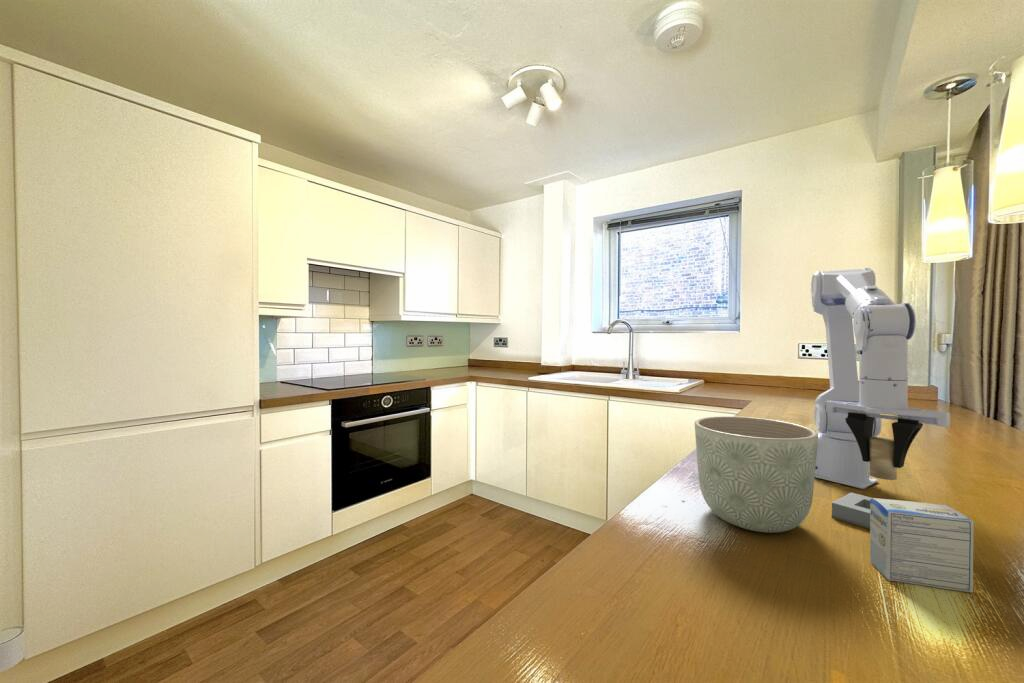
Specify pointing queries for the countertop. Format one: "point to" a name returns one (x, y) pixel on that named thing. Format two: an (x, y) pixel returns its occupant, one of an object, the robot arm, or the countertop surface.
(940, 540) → the medicine box
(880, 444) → the maple pin
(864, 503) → the hole block
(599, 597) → the countertop surface
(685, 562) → the countertop surface
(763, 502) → the planter
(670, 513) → the countertop surface
